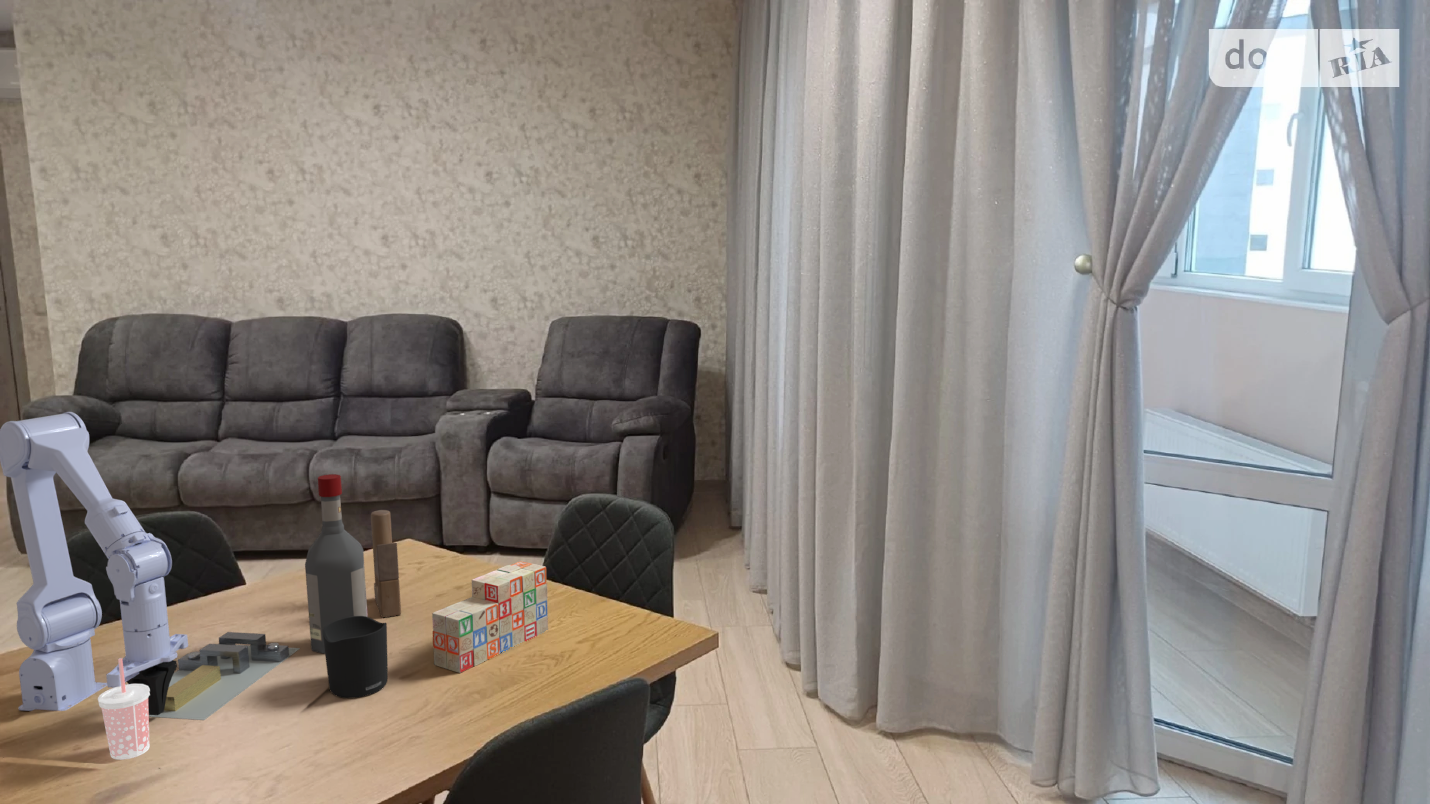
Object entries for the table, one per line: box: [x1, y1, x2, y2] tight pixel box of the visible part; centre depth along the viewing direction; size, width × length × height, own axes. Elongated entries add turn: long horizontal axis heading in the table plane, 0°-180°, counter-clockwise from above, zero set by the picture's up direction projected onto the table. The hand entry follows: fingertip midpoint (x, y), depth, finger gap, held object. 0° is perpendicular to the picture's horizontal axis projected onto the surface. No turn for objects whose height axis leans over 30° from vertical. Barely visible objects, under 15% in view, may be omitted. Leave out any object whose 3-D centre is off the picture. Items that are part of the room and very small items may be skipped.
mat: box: [149, 644, 301, 721], centre depth 161 cm, size 26×15×1 cm, turn 172°
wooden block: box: [370, 509, 402, 618], centre depth 192 cm, size 4×11×18 cm, turn 25°
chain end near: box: [177, 643, 250, 674], centre depth 164 cm, size 2×11×4 cm, turn 82°
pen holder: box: [323, 616, 389, 699], centre depth 159 cm, size 9×9×10 cm
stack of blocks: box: [431, 560, 549, 673], centre depth 173 cm, size 21×6×12 cm, turn 148°
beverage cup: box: [97, 657, 151, 761], centre depth 138 cm, size 6×6×14 cm
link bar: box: [164, 665, 221, 711], centre depth 156 cm, size 11×3×2 cm, turn 172°
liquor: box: [304, 473, 369, 655], centre depth 173 cm, size 9×9×30 cm
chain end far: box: [218, 631, 290, 663], centre depth 169 cm, size 2×11×4 cm, turn 82°
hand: (154, 712), depth 148 cm, fingers closed
